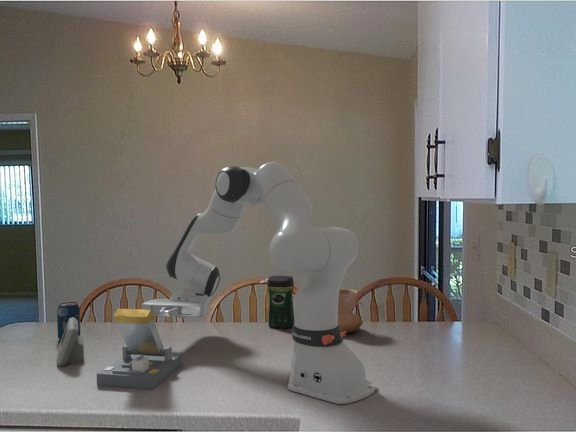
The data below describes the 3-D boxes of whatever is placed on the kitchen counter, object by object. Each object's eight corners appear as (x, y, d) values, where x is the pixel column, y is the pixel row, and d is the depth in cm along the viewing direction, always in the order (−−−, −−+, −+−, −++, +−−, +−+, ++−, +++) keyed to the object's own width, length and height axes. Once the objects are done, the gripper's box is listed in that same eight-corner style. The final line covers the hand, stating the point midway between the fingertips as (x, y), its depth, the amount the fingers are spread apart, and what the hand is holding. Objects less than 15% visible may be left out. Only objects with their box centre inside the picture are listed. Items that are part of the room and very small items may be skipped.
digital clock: (59, 351, 145) (58, 317, 144) (90, 348, 147) (89, 315, 146) (45, 369, 129) (44, 331, 128) (80, 366, 131) (79, 328, 131)
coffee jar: (296, 324, 173) (296, 274, 173) (291, 329, 166) (290, 277, 165) (271, 322, 176) (271, 273, 175) (265, 328, 168) (264, 277, 168)
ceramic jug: (367, 327, 167) (366, 288, 167) (361, 338, 154) (360, 295, 154) (319, 325, 173) (318, 286, 173) (308, 335, 159) (307, 293, 159)
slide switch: (137, 368, 120) (137, 354, 120) (148, 368, 119) (148, 355, 119) (132, 372, 117) (131, 358, 117) (143, 373, 116) (142, 359, 116)
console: (133, 361, 134) (133, 338, 134) (182, 363, 132) (181, 341, 131) (96, 385, 117) (96, 359, 116) (152, 389, 114) (152, 363, 114)
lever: (133, 349, 129) (116, 308, 121) (166, 351, 128) (152, 309, 119) (129, 357, 127) (111, 315, 119) (163, 358, 125) (148, 317, 117)
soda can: (65, 343, 152) (64, 306, 152) (53, 340, 156) (52, 304, 155) (84, 337, 158) (84, 302, 158) (72, 335, 162) (71, 300, 161)
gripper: (153, 293, 153) (131, 302, 139) (212, 295, 149) (196, 304, 136) (153, 312, 153) (132, 323, 140) (212, 314, 149) (196, 326, 136)
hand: (164, 314), depth 138 cm, fingers closed
